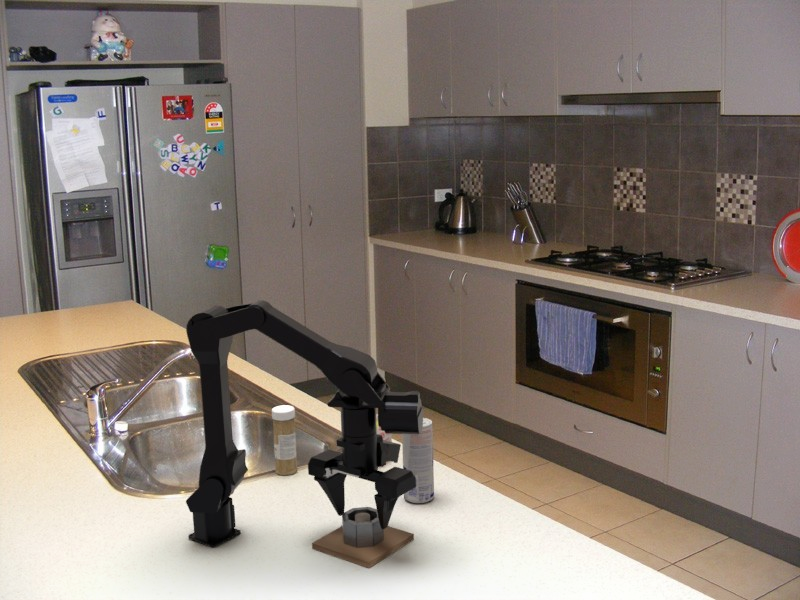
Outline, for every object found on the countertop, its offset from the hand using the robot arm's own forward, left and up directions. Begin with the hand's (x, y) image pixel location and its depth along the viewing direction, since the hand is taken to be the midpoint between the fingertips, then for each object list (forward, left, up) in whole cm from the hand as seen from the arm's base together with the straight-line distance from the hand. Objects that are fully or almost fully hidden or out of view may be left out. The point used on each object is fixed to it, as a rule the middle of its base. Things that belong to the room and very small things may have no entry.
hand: (362, 521), depth 151 cm
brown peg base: (0, 0, -4) cm, 4 cm away
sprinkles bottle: (+16, +33, -4) cm, 37 cm away
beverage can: (+20, +3, -4) cm, 21 cm away
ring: (0, 0, -3) cm, 3 cm away
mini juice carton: (+30, +21, -4) cm, 37 cm away
